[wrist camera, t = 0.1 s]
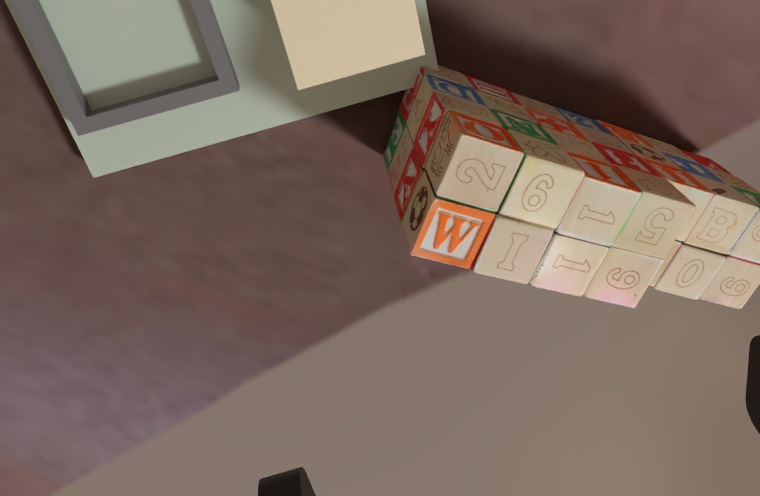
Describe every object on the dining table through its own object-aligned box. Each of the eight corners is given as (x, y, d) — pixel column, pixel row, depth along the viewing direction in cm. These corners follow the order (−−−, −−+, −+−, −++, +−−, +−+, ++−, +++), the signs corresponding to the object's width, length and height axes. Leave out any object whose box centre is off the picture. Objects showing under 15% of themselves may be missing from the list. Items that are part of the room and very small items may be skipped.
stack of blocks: (712, 155, 43) (848, 251, 33) (662, 235, 46) (773, 346, 35) (413, 56, 37) (461, 133, 27) (377, 153, 40) (408, 258, 30)
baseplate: (-34, -103, 30) (-197, -101, 20) (378, -214, 31) (443, -272, 20) (99, 167, 37) (33, 280, 26) (434, 73, 38) (504, 145, 27)
